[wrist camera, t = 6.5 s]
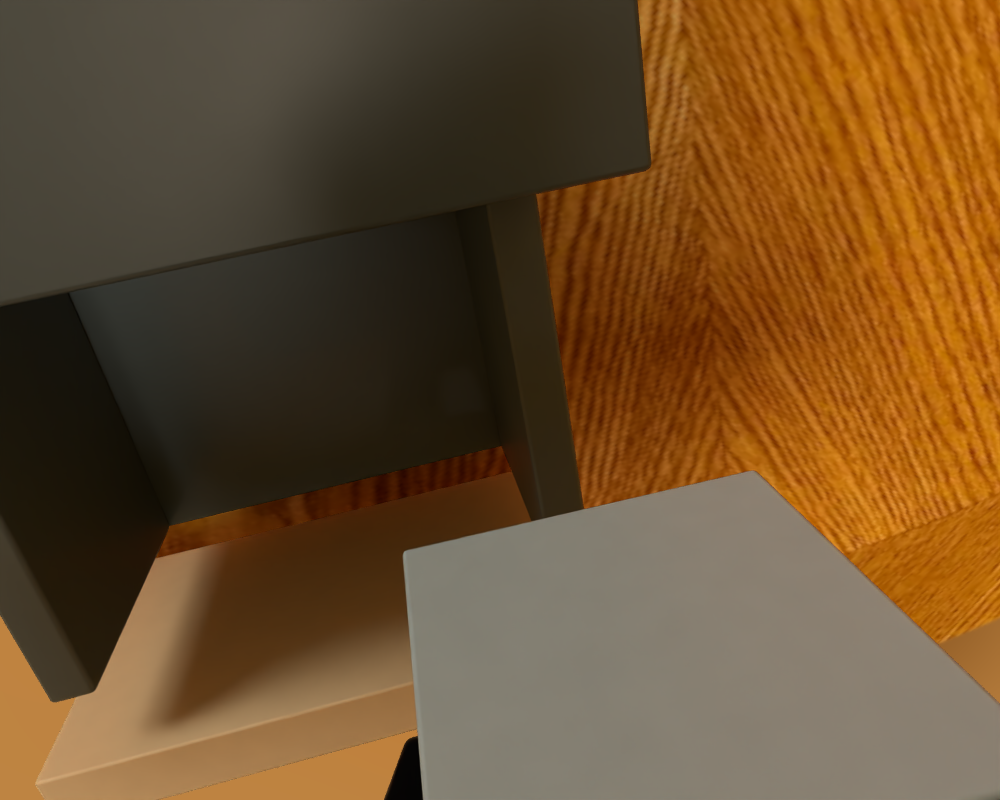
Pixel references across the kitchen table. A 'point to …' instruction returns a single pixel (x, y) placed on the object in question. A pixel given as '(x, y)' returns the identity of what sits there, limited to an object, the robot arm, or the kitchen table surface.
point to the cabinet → (291, 123)
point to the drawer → (262, 486)
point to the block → (682, 663)
